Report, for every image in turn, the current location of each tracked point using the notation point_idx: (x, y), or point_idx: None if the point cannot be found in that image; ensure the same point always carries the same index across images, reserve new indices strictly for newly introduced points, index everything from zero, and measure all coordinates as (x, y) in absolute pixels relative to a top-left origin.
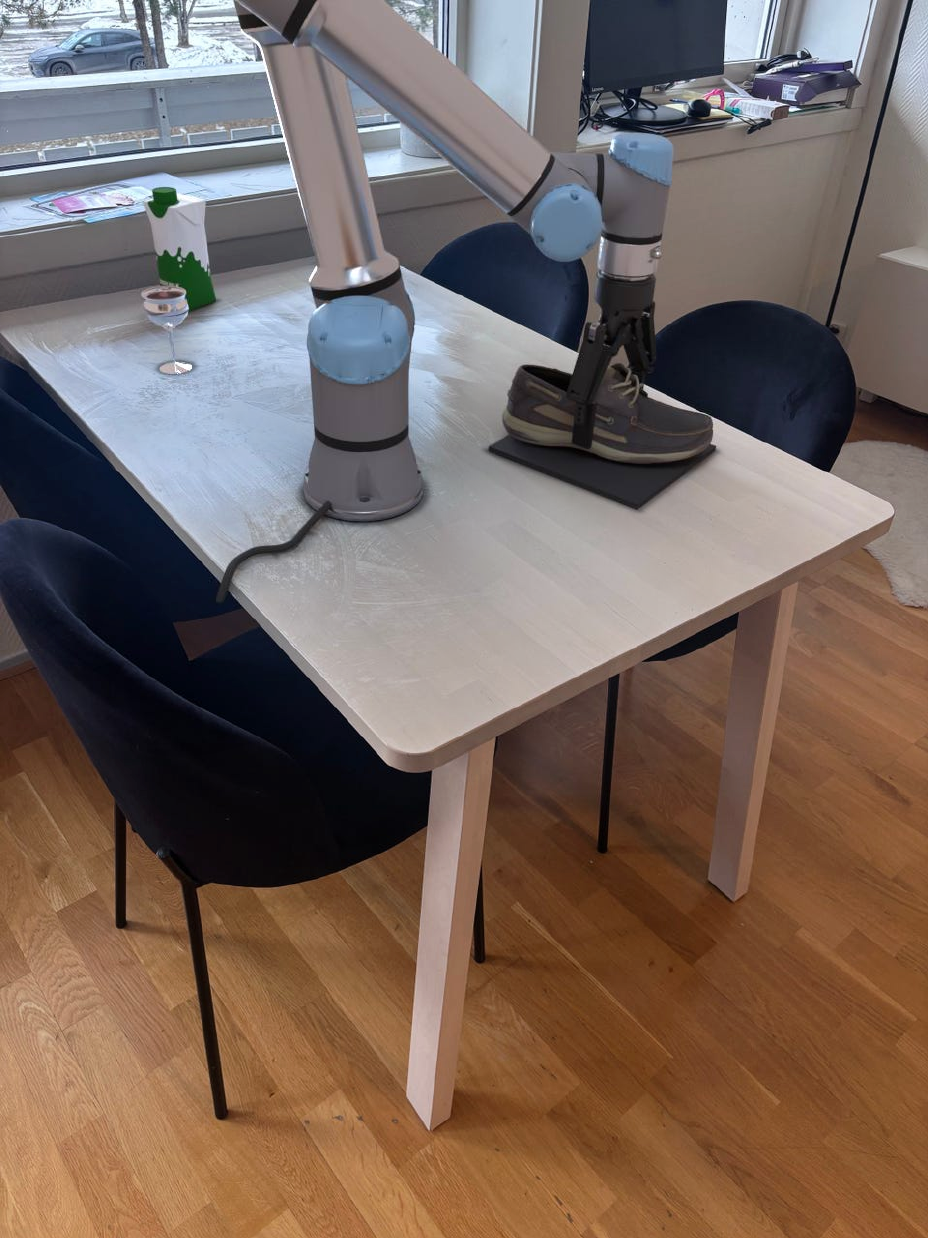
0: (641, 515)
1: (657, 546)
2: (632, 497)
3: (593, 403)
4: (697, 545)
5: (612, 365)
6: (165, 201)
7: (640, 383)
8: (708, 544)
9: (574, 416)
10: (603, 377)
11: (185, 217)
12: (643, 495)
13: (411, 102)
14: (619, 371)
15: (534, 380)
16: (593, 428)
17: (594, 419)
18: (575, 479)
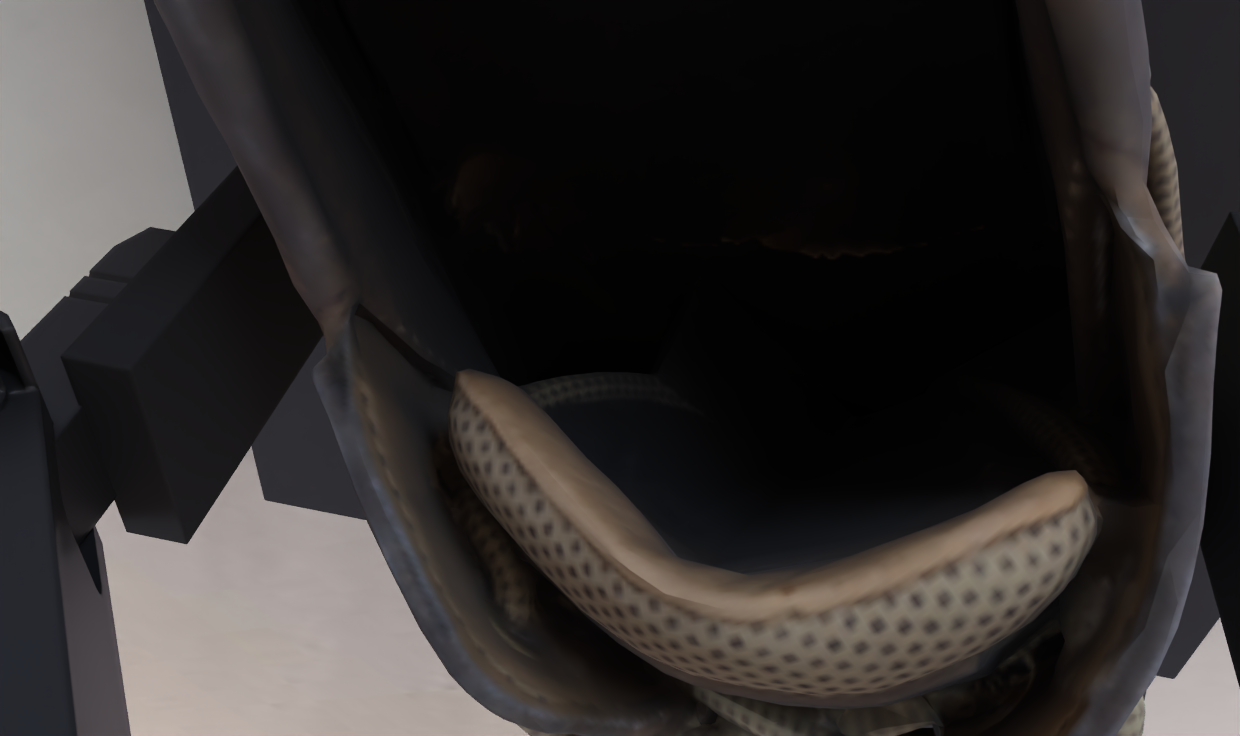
0: (255, 499)
1: (124, 582)
2: (296, 468)
3: (132, 526)
4: (253, 672)
5: (1153, 607)
6: None
7: (1234, 653)
8: (290, 695)
9: (192, 215)
10: (584, 595)
11: None
12: (355, 502)
13: None
14: (1062, 652)
15: None
16: (315, 341)
17: (274, 402)
18: (186, 167)
